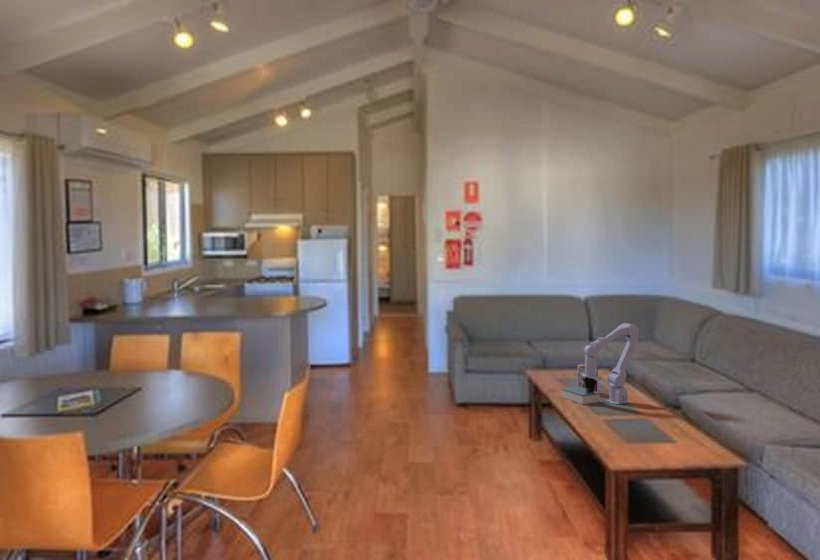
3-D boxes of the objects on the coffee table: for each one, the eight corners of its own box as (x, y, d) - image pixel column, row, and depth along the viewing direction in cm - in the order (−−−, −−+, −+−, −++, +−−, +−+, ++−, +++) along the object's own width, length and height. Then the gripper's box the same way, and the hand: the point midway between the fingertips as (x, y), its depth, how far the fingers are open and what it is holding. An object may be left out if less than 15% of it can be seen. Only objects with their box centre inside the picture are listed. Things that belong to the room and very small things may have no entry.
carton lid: (599, 393, 377) (599, 387, 377) (582, 396, 372) (582, 389, 372) (578, 387, 393) (578, 381, 393) (561, 389, 388) (561, 383, 388)
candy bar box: (578, 393, 398) (578, 365, 397) (576, 391, 403) (577, 364, 402) (597, 394, 397) (598, 366, 396) (596, 392, 402) (596, 364, 401)
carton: (599, 402, 378) (599, 394, 377) (582, 404, 372) (582, 396, 372) (578, 395, 394) (578, 387, 393) (561, 397, 389) (561, 390, 388)
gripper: (575, 365, 379) (575, 389, 380) (593, 370, 366) (593, 395, 367) (585, 364, 382) (585, 388, 383) (603, 368, 369) (603, 393, 370)
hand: (590, 391), depth 375 cm, fingers closed on carton lid
